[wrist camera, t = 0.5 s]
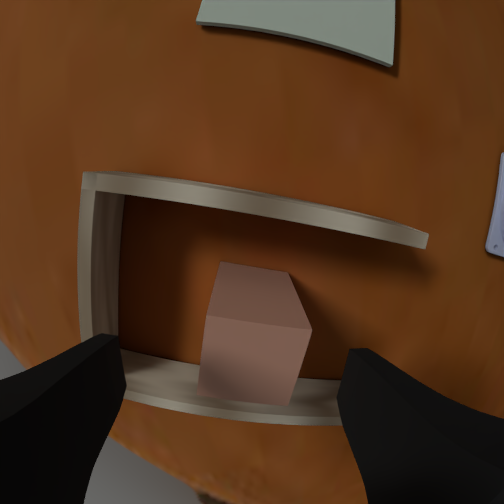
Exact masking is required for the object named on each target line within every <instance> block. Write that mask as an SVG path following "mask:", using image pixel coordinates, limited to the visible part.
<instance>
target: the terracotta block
mask: <svg viewBox="0 0 504 504" xmlns="http://www.w3.org/2000/svg"><path fill="white" fill-rule="evenodd" d="M311 333H312V328H311V325H310V323H309V321H308V318H307V316H306V314H305V311H304V309H303V307H302V304H301V302H300V300H299V297H298V295H297V293H296V290H295V288H294V286H293V283H292V281H291V279H290V276H289V274H288V272H282V271H276V270H269V269H263V268H257V267H251V266H245V265H239V264H233V263H227V262H221V261H220V265H219V268H218V272H217V276H216V280H215V284H214V287H213V291H212V295H211V299H210V303H209V307H208V311H207V315H206V322H205V330H204V337H203V345H202V353H201V361H200V370H199V378H198V387H197V395H200V396H206V397H212V398H218V399H225V400H233V401H241V402H249V403H259V404H269V405H281V406H288V404H289V401H290V398H291V395H292V392H293V389H294V386H295V384H296V381H297V378H298V375H299V371H300V368H301V365H302V362H303V359H304V356H305V353H306V350H307V346H308V343H309V340H310V337H311Z"/></svg>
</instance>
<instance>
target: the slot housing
mask: <svg viewBox="0 0 504 504" xmlns="http://www.w3.org/2000/svg"><path fill="white" fill-rule="evenodd" d="M125 194H127V195H134V196H141V197H148V198H155V199H162V200H169V201H175V202H182V203H188V204H195V205H201V206H207V207H213V208H219V209H225V210H231V211H237V212H243V213H249V214H254V215H260V216H266V217H271V218H277V219H282V220H287V221H293V222H298V223H303V224H309V225H314V226H319V227H324V228H329V229H334V230H339V231H344V232H348V233H353V234H358V235H363V236H368V237H372V238H377V239H381V240H386V241H391V242H395V243H400V244H404V245H408V246H413V247H417V248H421V249H425V248H426V244H427V240H428V236H429V234H427V233H425V232H422V231H419V230H417V229H414V228H411V227H409V226H406V225H403V224H401V223H398V222H395V221H391V220H387V219H383V218H379V217H375V216H371V215H367V214H362V213H358V212H354V211H350V210H345V209H341V208H336V207H332V206H327V205H322V204H318V203H313V202H308V201H303V200H298V199H293V198H288V197H283V196H278V195H273V194H267V193H262V192H256V191H251V190H245V189H239V188H233V187H227V186H221V185H215V184H209V183H202V182H196V181H189V180H182V179H175V178H168V177H160V176H152V175H144V174H136V173H128V172H119V171H97V172H83V179H82V188H81V199H80V211H79V227H78V304H79V320H80V333H81V343H82V342H84V341H86V340H87V339H89V338H91V337H94V336H96V335H98V334H101V333H104V334H110V335H117V336H118V281H119V258H120V242H121V229H122V218H123V208H124V199H125ZM120 350H121V357H122V362H123V368H124V373H125V379H126V384H127V387H126V391H125V394H124V397H123V398H125V399H128V400H132V401H136V402H140V403H144V404H148V405H152V406H157V407H161V408H166V409H171V410H176V411H181V412H186V413H192V414H197V415H203V416H210V417H217V418H224V419H231V420H240V421H249V422H260V423H272V424H289V425H342V422H341V417H340V413H339V408H338V403H337V398H336V397H337V393H338V390H339V387H340V383H341V380H321V379H306V378H297V381H296V384H295V386H294V389H293V392H292V395H291V398H290V401H289V404H288V406H281V405H269V404H259V403H249V402H241V401H233V400H225V399H218V398H212V397H206V396H200V395H197V387H198V378H199V370H200V365H194V364H189V363H183V362H178V361H173V360H168V359H163V358H159V357H154V356H150V355H145V354H141V353H137V352H132V351H128V350H124V349H120Z"/></svg>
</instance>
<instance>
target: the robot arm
mask: <svg viewBox="0 0 504 504" xmlns="http://www.w3.org/2000/svg"><path fill="white" fill-rule="evenodd" d="M485 248H486V251H487V252H489V253H492V254H496V255H499V256H502V257H504V152H503V153H502V154H501V160H500V169H499V178H498V185H497V191H496V198H495V203H494V209H493V214H492V219H491V224H490V228H489V233H488V237H487V241H486V246H485ZM126 387H127V384H126V379H125V373H124V368H123V362H122V357H121V350H120V344H119V337H118V336H117V335H110V334H104V333H101V334H98V335H96V336H94V337H91V338H89V339H87V340H86V341H84V342H82V343H80V344H78V345H76V346H74V347H72V348H70V349H69V350H67V351H65V352H63V353H61V354H59V355H57V356H55V357H53V358H51V359H49V360H47V361H45V362H43V363H41V364H39V365H37V366H35V367H32V368H30V369H28V370H26V371H24V372H21V373H19V374H16V375H13V376H11V377H8V378H5V379H2V380H0V504H84V499H85V494H86V491H87V487H88V484H89V480H90V476H91V473H92V470H93V467H94V465H95V462H96V460H97V458H98V455H99V453H100V451H101V449H102V447H103V444H104V442H105V440H106V438H107V436H108V434H109V432H110V430H111V428H112V425H113V423H114V421H115V419H116V417H117V415H118V412H119V410H120V407H121V404H122V401H123V397H124V394H125V391H126ZM336 398H337V403H338V408H339V413H340V417H341V422H342V425H343V428H344V430H345V433H346V436H347V438H348V441H349V444H350V446H351V449H352V452H353V454H354V457H355V460H356V462H357V465H358V468H359V470H360V473H361V476H362V479H363V482H364V486H365V490H366V495H367V499H368V504H504V419H502V418H498V417H495V416H492V415H489V414H486V413H482V412H479V411H477V410H474V409H471V408H469V407H467V406H464V405H462V404H460V403H458V402H455V401H453V400H451V399H449V398H447V397H445V396H443V395H441V394H440V393H438V392H436V391H434V390H432V389H431V388H429V387H427V386H426V385H424V384H422V383H421V382H419V381H417V380H416V379H414V378H413V377H411V376H410V375H408V374H406V373H405V372H403V371H402V370H400V369H399V368H397V367H396V366H394V365H393V364H392V363H390V362H389V361H387V360H386V359H384V358H383V357H381V356H379V355H378V354H376V353H375V352H373V351H371V350H369V349H368V348H360V349H349V353H348V357H347V361H346V365H345V369H344V372H343V376H342V380H341V383H340V387H339V390H338V393H337V397H336Z"/></svg>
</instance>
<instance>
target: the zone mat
mask: <svg viewBox="0 0 504 504" xmlns="http://www.w3.org/2000/svg"><path fill="white" fill-rule="evenodd" d="M196 23H197V25H208V26H220V27H229V28H238V29H245V30H252V31H258V32H264V33H270V34H276V35H281V36H286V37H290V38H295V39H299V40H304V41H308V42H312V43H316V44H320V45H323V46H327V47H331V48H334V49H337V50H341V51H344V52H347V53H350V54H353V55H357V56H359V57H362V58H365V59H368V60H371V61H374V62H376V63H379V64H382V65H384V66H387V67H391V66H392V65H393V53H394V33H395V0H202V3H201V6H200V9H199V13H198V16H197V19H196Z"/></svg>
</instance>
